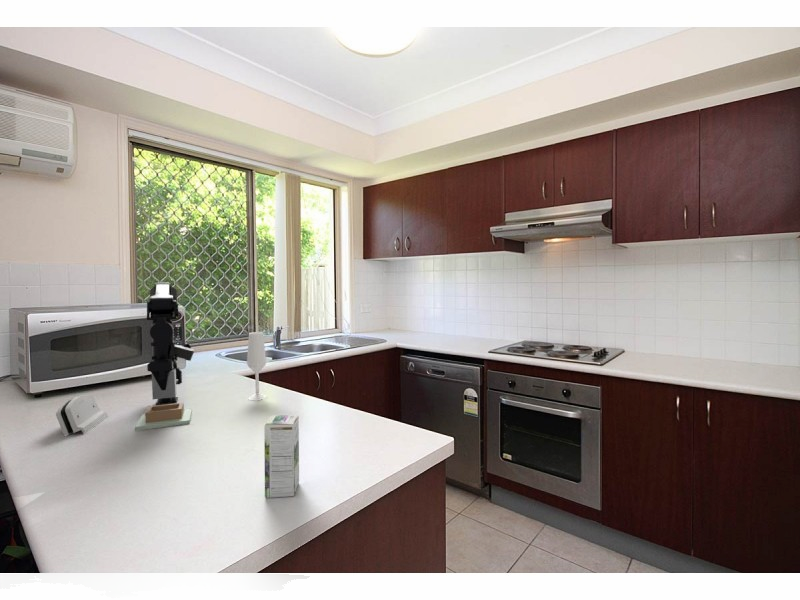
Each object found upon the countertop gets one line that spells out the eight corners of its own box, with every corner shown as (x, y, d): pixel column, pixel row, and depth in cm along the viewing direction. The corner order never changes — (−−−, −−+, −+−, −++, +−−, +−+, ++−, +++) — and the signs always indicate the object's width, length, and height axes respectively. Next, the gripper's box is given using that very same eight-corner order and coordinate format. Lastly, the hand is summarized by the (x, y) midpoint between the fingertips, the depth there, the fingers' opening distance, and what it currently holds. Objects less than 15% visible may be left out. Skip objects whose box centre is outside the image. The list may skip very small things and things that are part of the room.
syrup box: (271, 484, 85) (269, 414, 85) (300, 483, 86) (298, 413, 85) (264, 498, 80) (262, 424, 79) (295, 497, 80) (294, 423, 80)
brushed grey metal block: (154, 396, 128) (153, 370, 128) (176, 393, 130) (175, 368, 130) (152, 399, 124) (151, 373, 124) (175, 397, 127) (174, 371, 126)
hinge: (85, 434, 116) (69, 402, 115) (66, 441, 115) (50, 409, 114) (108, 416, 132) (94, 388, 131) (92, 422, 131) (78, 394, 130)
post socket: (142, 417, 131) (142, 404, 131) (192, 411, 136) (191, 399, 136) (135, 430, 119) (134, 416, 119) (189, 423, 124) (189, 410, 124)
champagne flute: (247, 396, 154) (245, 332, 153) (265, 394, 156) (264, 331, 156) (248, 401, 148) (246, 334, 147) (268, 399, 150) (266, 333, 149)
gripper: (190, 340, 121) (191, 392, 122) (194, 333, 138) (195, 379, 139) (146, 342, 117) (148, 397, 118) (155, 335, 134) (157, 383, 135)
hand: (164, 388), depth 127 cm, fingers closed on brushed grey metal block, 4 cm apart
